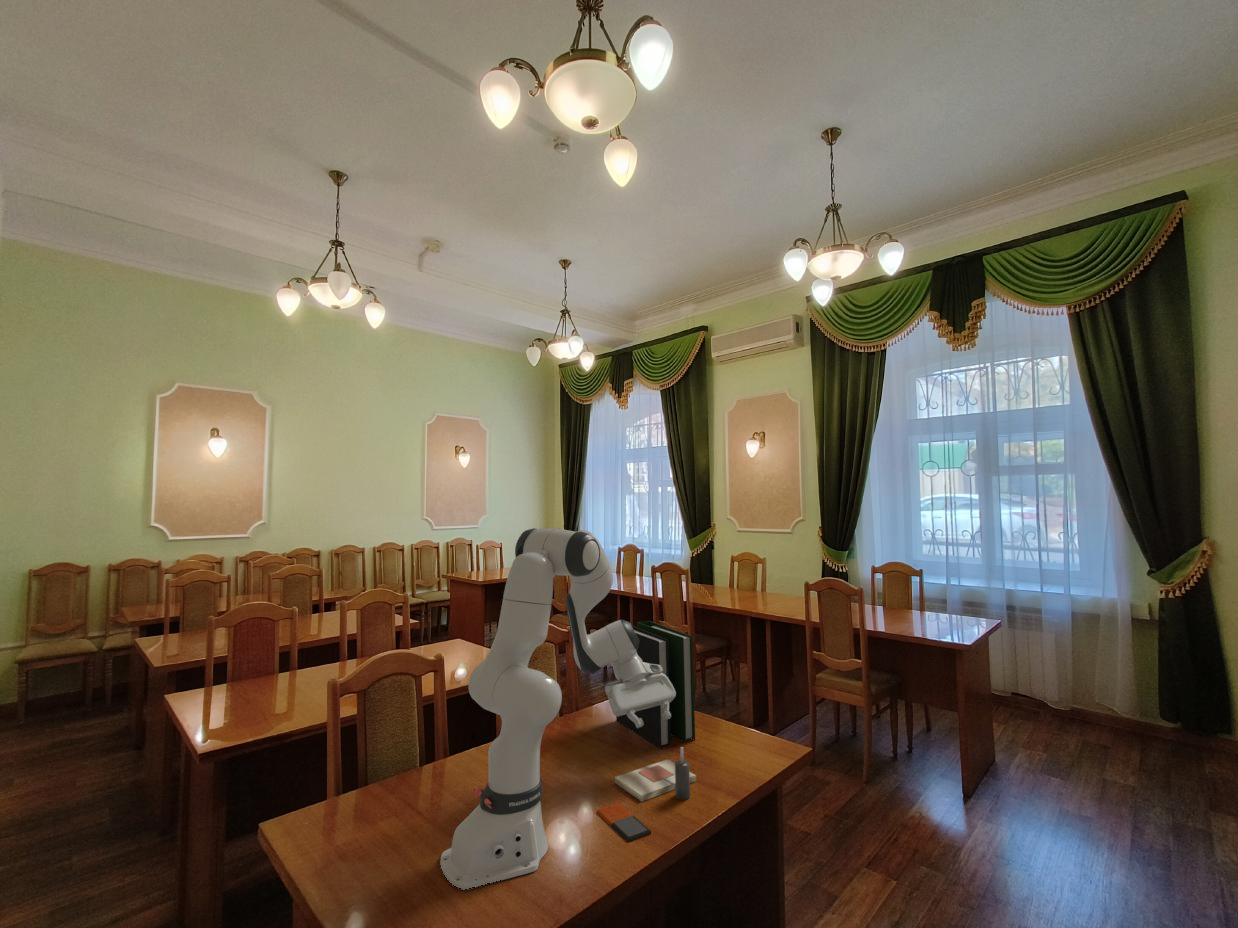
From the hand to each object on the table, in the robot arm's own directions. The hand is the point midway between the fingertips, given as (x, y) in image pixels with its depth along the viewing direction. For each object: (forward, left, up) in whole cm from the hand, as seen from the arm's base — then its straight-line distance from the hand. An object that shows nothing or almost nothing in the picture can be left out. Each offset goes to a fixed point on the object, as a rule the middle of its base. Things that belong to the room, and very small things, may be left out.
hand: (654, 722), depth 157 cm
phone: (-19, -12, -16) cm, 27 cm away
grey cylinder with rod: (0, -11, -15) cm, 19 cm away
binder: (+20, +27, -15) cm, 37 cm away
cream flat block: (-1, -1, -15) cm, 15 cm away
